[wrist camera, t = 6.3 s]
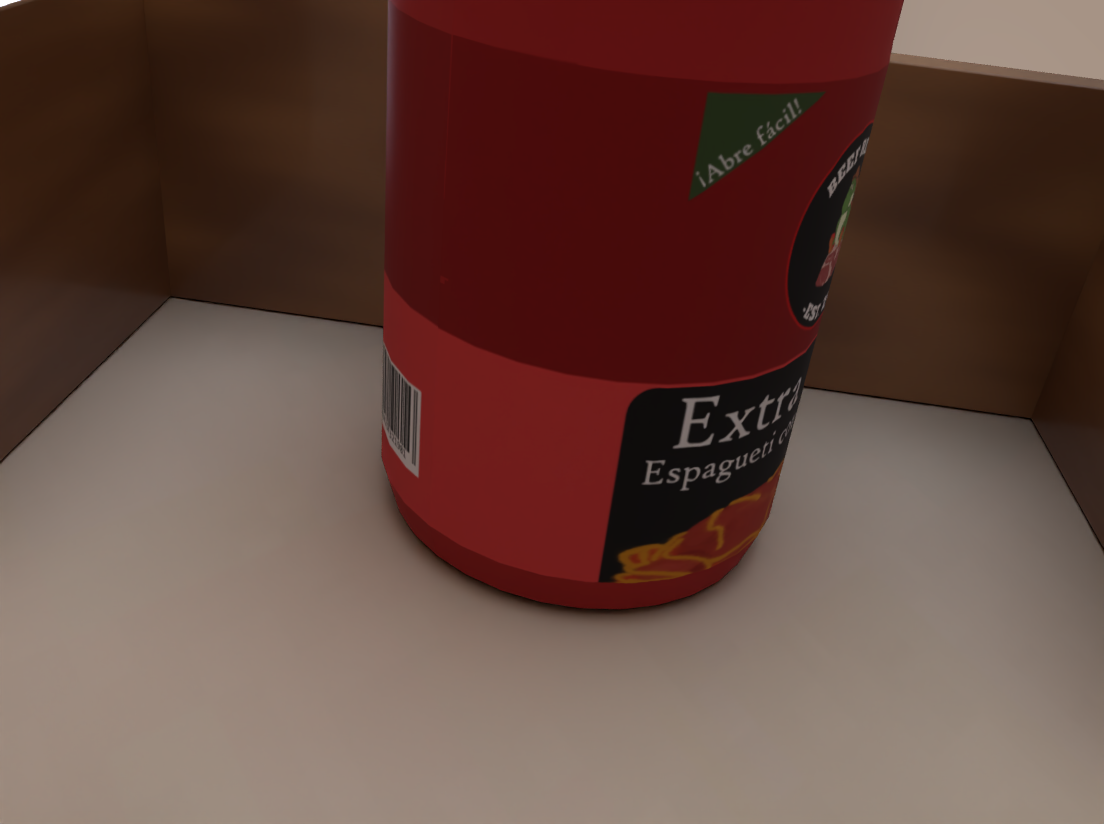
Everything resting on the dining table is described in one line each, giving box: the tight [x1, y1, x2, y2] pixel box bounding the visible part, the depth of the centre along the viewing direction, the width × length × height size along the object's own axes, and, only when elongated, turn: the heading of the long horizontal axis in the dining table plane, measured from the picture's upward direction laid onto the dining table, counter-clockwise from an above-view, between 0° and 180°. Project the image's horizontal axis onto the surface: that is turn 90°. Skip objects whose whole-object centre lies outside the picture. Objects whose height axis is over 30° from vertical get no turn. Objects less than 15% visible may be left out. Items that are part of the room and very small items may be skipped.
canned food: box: [382, 0, 904, 609], centre depth 19 cm, size 8×8×11 cm
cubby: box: [0, 0, 1104, 548], centre depth 20 cm, size 24×13×8 cm, turn 84°
